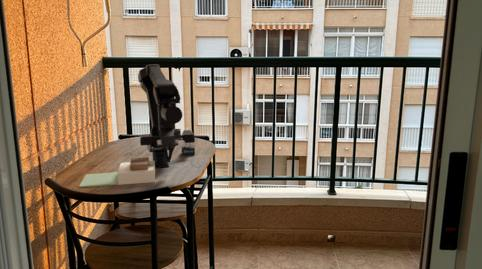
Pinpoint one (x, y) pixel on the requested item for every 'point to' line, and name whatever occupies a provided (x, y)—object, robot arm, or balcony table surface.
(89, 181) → the sage green mat
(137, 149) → the balcony table surface
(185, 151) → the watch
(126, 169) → the block
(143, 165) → the walnut tile
